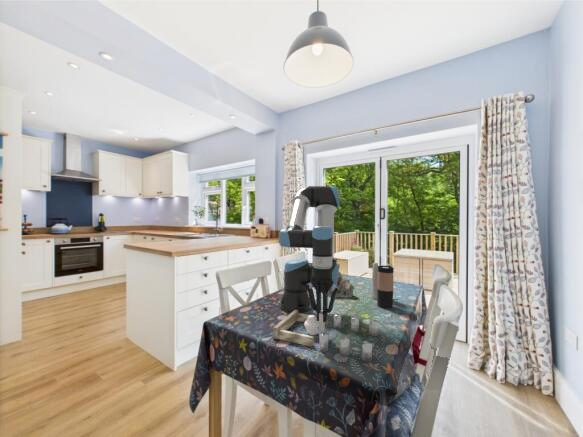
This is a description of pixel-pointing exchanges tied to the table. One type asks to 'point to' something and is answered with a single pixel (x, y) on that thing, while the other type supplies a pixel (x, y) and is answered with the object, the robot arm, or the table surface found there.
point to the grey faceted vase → (312, 325)
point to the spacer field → (345, 340)
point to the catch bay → (292, 336)
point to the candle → (374, 280)
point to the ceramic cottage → (343, 288)
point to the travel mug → (385, 287)
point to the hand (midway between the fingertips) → (321, 329)
